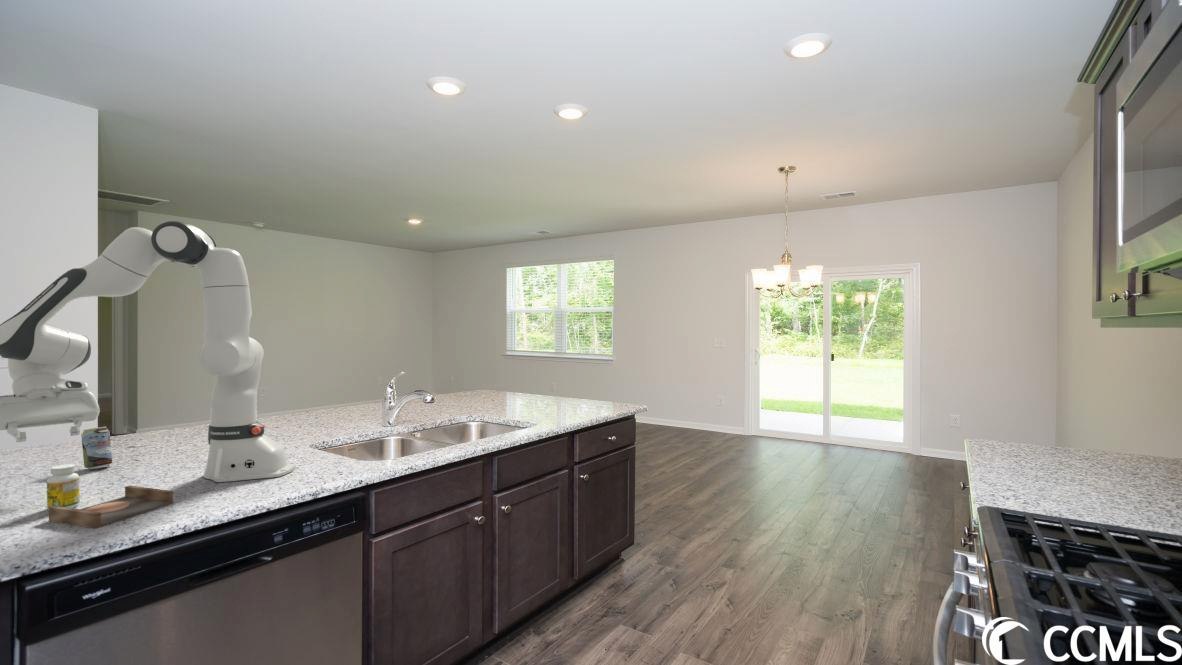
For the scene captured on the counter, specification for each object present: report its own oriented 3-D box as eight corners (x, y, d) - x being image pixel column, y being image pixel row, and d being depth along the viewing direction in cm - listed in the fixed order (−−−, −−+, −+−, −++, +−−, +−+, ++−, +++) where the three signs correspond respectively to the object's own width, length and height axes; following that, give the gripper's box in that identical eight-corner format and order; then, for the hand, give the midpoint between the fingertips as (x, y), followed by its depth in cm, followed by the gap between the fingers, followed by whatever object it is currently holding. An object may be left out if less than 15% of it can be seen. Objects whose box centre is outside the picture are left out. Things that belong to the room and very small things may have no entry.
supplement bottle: (84, 505, 126) (84, 464, 125) (55, 513, 121) (54, 470, 120) (71, 502, 128) (71, 462, 127) (41, 509, 123) (41, 467, 122)
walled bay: (48, 520, 116) (48, 507, 116) (129, 497, 131) (129, 485, 131) (95, 528, 112) (95, 514, 112) (173, 503, 128) (173, 491, 128)
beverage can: (95, 472, 152) (95, 430, 152) (74, 470, 154) (74, 428, 154) (118, 466, 158) (118, 425, 158) (98, 464, 160) (98, 424, 160)
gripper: (-21, 389, 126) (-13, 436, 121) (94, 382, 143) (106, 423, 138) (-24, 406, 129) (-17, 452, 124) (89, 397, 146) (100, 438, 141)
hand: (49, 437), depth 131 cm, fingers open, 8 cm apart
